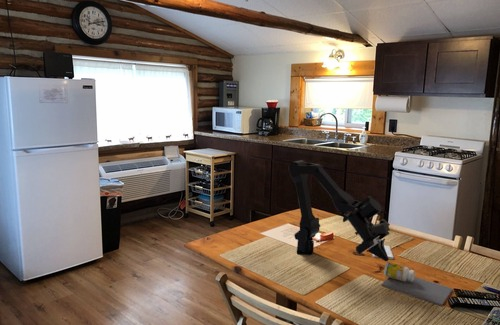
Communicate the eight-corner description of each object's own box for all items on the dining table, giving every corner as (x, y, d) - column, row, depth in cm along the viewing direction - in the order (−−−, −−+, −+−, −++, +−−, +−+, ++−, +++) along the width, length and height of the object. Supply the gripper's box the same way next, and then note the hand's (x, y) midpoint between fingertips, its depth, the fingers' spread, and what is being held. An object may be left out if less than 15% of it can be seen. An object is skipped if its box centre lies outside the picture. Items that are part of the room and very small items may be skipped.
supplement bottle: (383, 277, 142) (410, 285, 136) (385, 263, 142) (412, 270, 136) (387, 274, 146) (414, 282, 141) (389, 260, 146) (416, 267, 140)
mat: (381, 285, 138) (381, 284, 138) (395, 272, 148) (395, 270, 148) (441, 306, 125) (441, 304, 125) (452, 290, 136) (452, 288, 136)
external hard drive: (389, 249, 173) (393, 260, 161) (370, 247, 174) (373, 258, 162) (389, 245, 172) (393, 256, 160) (370, 243, 174) (373, 254, 162)
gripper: (366, 219, 136) (395, 258, 131) (386, 208, 150) (413, 242, 145) (344, 235, 142) (371, 272, 137) (365, 223, 156) (390, 256, 151)
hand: (387, 260), depth 143 cm, fingers closed
